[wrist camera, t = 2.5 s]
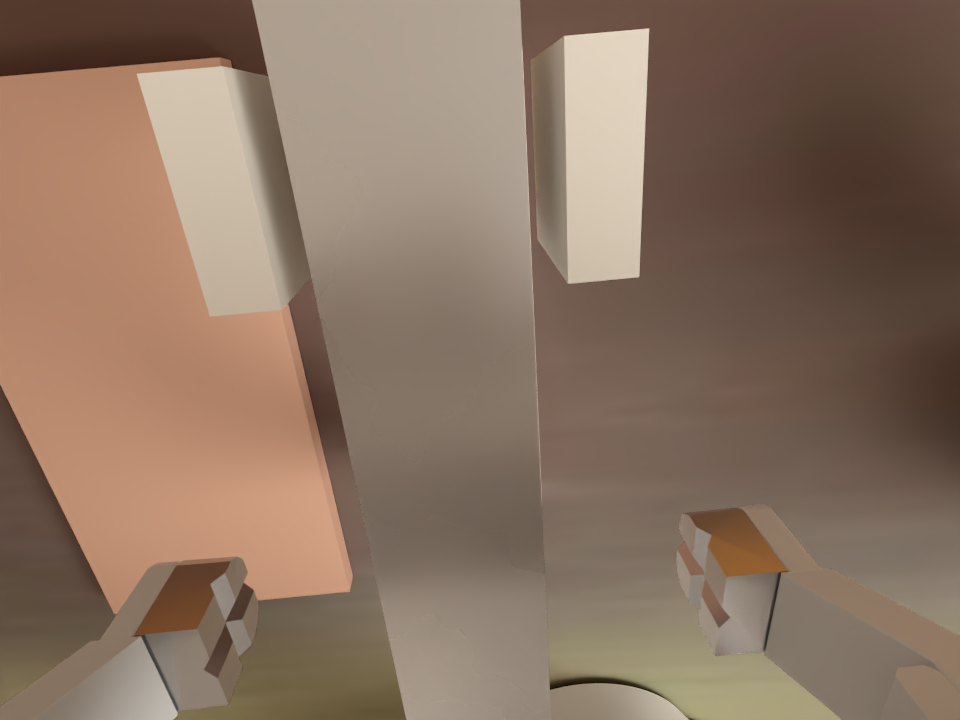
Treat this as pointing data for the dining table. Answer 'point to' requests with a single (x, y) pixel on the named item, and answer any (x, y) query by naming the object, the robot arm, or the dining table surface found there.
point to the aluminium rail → (427, 324)
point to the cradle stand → (271, 204)
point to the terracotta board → (147, 356)
